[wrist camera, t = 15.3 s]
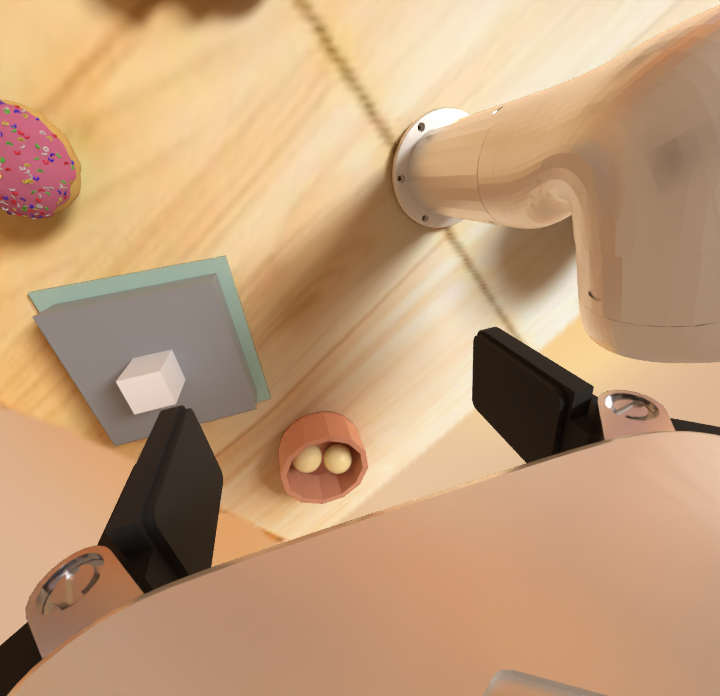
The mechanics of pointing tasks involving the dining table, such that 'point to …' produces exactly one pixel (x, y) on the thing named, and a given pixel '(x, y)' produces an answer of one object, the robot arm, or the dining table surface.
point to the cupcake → (35, 164)
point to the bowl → (321, 458)
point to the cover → (152, 354)
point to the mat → (163, 275)
